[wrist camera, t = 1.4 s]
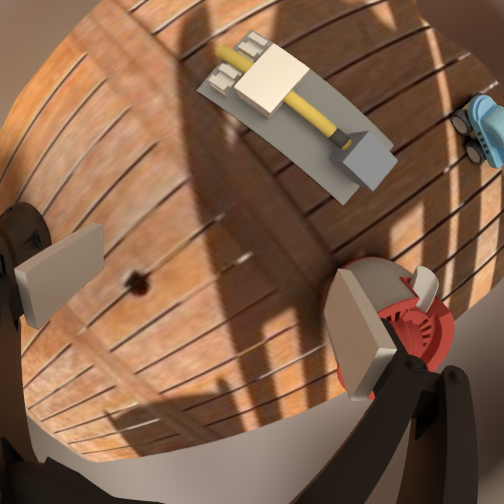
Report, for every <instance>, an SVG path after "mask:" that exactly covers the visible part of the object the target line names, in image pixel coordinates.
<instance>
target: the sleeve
mask: <svg viewBox="0 0 504 504" xmlns="http://www.w3.org/2000/svg"><path fill="white" fill-rule="evenodd" d="M309 70H310V69H309V68H308V67H307V66H305V65H304V64H303V63H301V62H300V61H299V60H297V59H296V58H294V57H293V56H292V55H290V54H289V53H287V52H286V51H284V50H283V49H281V48H280V47H278V46H277V45H275V44H274V43H273V44H272V46H271V47H270V48H269V49H268V50H267V51H266V52H265V53H264V54H263V55H262V56H261V57H260V58H259V59H258V60H257V61H256V62H255V63H254V65H253V66H252V67H251V68H250V69H249V70H248V71H247V72H246V73H245V75H244V76H243V77H242V78H241V79H240V80H239V81H238V83H237V84H236V85H235V86H234V88H235V90H236V92H237V94H238V96H239V98H241V99H242V100H244V101H245V102H246V103H248V104H249V105H251V106H252V107H253V108H255V109H256V110H257V111H259V112H260V113H261V114H263V115H264V116H265V117H267V118H268V119H270V118H271V117H272V116H273V114H274V113H275V112H276V111H277V110H278V109H279V107H280V106H281V105H282V104H283V103H284V101H283V100H284V98H285V97H286V96H287V95H288V94H289V93H290V92H291V90H293V91H294V90H295V89H296V88H297V87H298V86H299V85H300V84H301V83H302V81H303V80H304V78H305V76H306V74H307V73H308V71H309Z"/></svg>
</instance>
